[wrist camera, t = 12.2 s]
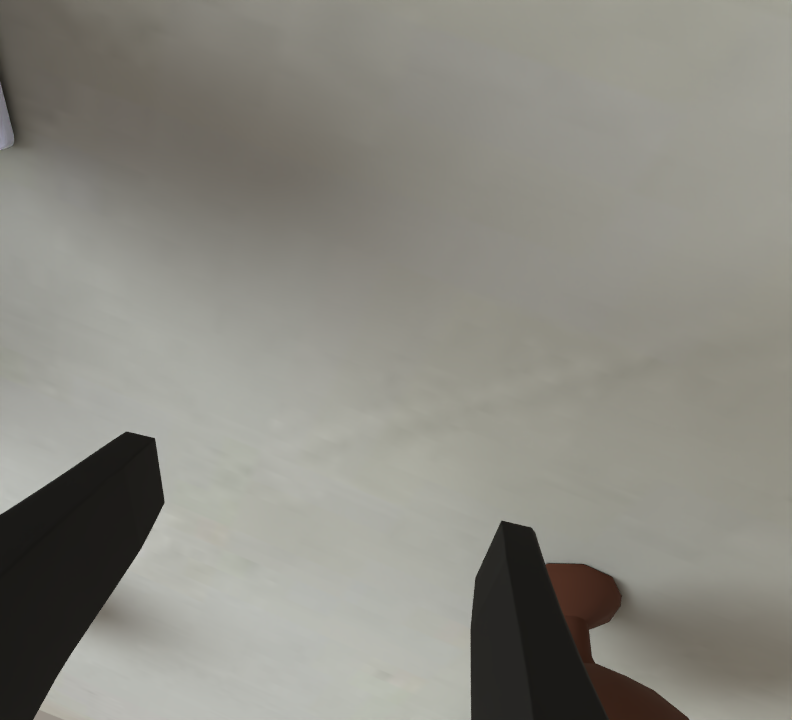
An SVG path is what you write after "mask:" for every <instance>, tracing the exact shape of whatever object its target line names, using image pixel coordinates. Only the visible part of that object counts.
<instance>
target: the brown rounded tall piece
mask: <svg viewBox="0 0 792 720" xmlns="http://www.w3.org/2000/svg"><path fill="white" fill-rule="evenodd" d="M546 568H547V571H548V574H549V577H550V580H551V582H552V585H553V588H554V591H555V593H556V596H557V599H558V602H559V604H560V607H561V609H562V612H563V615H564V617H565V620H566V622H567V625H568V627H569V630H570V632H571V634H572V637H573V639H574V642H575V644H576V647H577V649H578V652H579V654H580V656H581V659H582V661H583V663H584V666H585V668H586V670H587V672H588V675H589V677H590V679H591V681H592V684H593V686H594V688H595V690H596V692H597V694H598V697H599V699H600V701H601V703H602V705H603V707H604V709H605V712H606V714H607V716H608V718H609V720H689V719H688V717H687V716H685V715H684V714H683V713H682V712H680V711H679V710H678V709H677V708H675V707H674V706H673V705H671V704H670V703H669V702H668V701H666V700H665V699H664V698H663V697H661V696H660V695H659V694H658V693H656V692H655V691H654V690H652V689H650V688H648V687H646V686H644V685H642V684H640V683H638V682H636V681H634V680H632V679H631V678H629V677H627V676H624V675H622V674H620V673H617V672H615V671H612V670H610V669H608V668H605V667H603V666H601V665H598V664H595V662H594V660H593V658H592V654H591V645H590V636H589V629H592V628H595V627H597V626H600V625H602V624H605V623H607V622H609V621H610V620H611V619H612V617H613V616H614V614H615V613H616V611H617V610H618V609H619V607H620V605H621V599H622V595H621V593H620V592H619V590H618V588H617V586H616V584H615V582H614V580H613V578H612V577H611V576H609V575H606V574H604V573H602V572H600V571H597V570H595V569H593V568H591V567H589V566H586V565H584V564H550V563H548V564H546Z"/></svg>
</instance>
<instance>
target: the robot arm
mask: <svg viewBox="0 0 792 720" xmlns="http://www.w3.org/2000/svg"><path fill="white" fill-rule="evenodd" d="M13 143H14V134H13V130H12V126H11V122H10V118H9V114H8V110H7V106H6V102H5V98H4V95H3V91H2V87H1V83H0V150H3V149H6V148H9V147H11V146H13ZM164 503H165V502H164V495H163V489H162V482H161V475H160V469H159V462H158V455H157V449H156V442H155V438H152V437H147V436H143V435H139V434H135V433H130V432H125V433H123V434H122V435H120V436H119V437H117V438H116V439H114V440H113V441H111V442H109V443H108V444H107V445H105V446H104V447H102V448H101V449H99V450H98V451H96V452H95V453H93V454H92V455H90V456H89V457H87V458H86V459H85V460H83V461H82V462H80V463H79V464H77V465H76V466H74V467H73V468H71V469H70V470H68V471H67V472H65V473H64V474H62V475H61V476H59V477H58V478H56V479H55V480H53V481H52V482H50V483H49V484H47V485H46V486H44V487H43V488H41V489H40V490H38V491H37V492H35V493H33V494H32V495H30V496H29V497H27V498H26V499H24V500H23V501H21V502H20V503H18V504H17V505H15V506H13V507H12V508H10V509H9V510H7V511H6V512H4V513H2V514H1V515H0V720H33V719H34V717H35V715H36V713H37V711H38V710H39V708H40V706H41V704H42V703H43V701H44V699H45V697H46V695H47V693H48V692H49V690H50V688H51V686H52V684H53V683H54V681H55V679H56V677H57V676H58V674H59V672H60V671H61V669H62V668H63V666H64V664H65V663H66V661H67V660H68V658H69V656H70V655H71V653H72V652H73V650H74V649H75V647H76V646H77V644H78V643H79V641H80V640H81V638H82V637H83V635H84V634H85V632H86V631H87V629H88V628H89V626H90V625H91V623H92V622H93V620H94V619H95V617H96V616H97V614H98V613H99V611H100V610H101V608H102V607H103V605H104V604H105V602H106V601H107V599H108V598H109V596H110V595H111V593H112V592H113V590H114V589H115V588H116V586H117V585H118V583H119V582H120V580H121V578H122V577H123V575H124V574H125V572H126V571H127V569H128V568H129V566H130V565H131V563H132V562H133V560H134V559H135V557H136V556H137V554H138V553H139V551H140V550H141V548H142V546H143V544H144V542H145V540H146V538H147V536H148V535H149V533H150V531H151V529H152V527H153V525H154V523H155V521H156V519H157V517H158V515H159V513H160V511H161V509H162V507H163V505H164ZM471 720H609V718H608V716H607V714H606V712H605V709H604V707H603V705H602V703H601V701H600V699H599V697H598V694H597V692H596V690H595V688H594V686H593V684H592V681H591V679H590V677H589V675H588V672H587V670H586V668H585V666H584V663H583V661H582V659H581V656H580V654H579V652H578V649H577V647H576V644H575V642H574V639H573V637H572V634H571V632H570V630H569V627H568V625H567V622H566V620H565V617H564V615H563V612H562V609H561V607H560V604H559V602H558V599H557V596H556V593H555V591H554V588H553V585H552V582H551V580H550V577H549V574H548V571H547V568H546V565H545V562H544V559H543V556H542V553H541V550H540V547H539V544H538V540H537V537H536V534H535V532H534V530H533V529H532V528H531V527H526V526H522V525H518V524H514V523H509V522H505V521H501V523H500V525H499V527H498V530H497V532H496V534H495V536H494V538H493V541H492V543H491V545H490V547H489V549H488V552H487V554H486V556H485V558H484V560H483V563H482V565H481V567H480V569H479V571H478V574H477V576H476V579H475V589H474V599H473V609H472V620H471Z"/></svg>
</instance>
